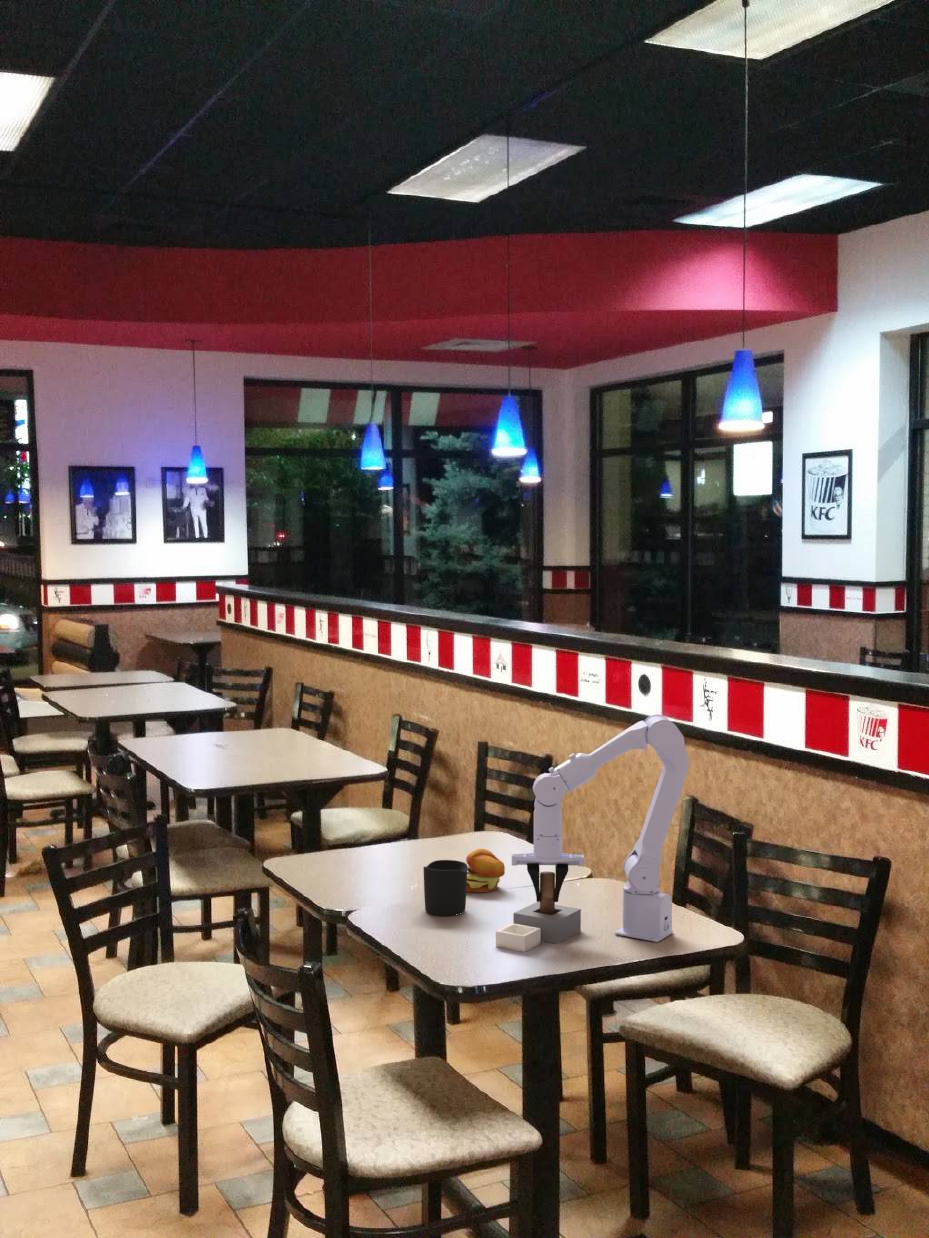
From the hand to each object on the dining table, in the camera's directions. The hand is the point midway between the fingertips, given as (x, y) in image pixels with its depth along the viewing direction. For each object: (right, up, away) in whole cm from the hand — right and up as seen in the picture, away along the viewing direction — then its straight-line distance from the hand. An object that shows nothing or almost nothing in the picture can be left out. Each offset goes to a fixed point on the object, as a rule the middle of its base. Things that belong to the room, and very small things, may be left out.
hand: (547, 900), depth 247 cm
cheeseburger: (-13, -5, +35) cm, 37 cm away
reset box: (0, -7, 0) cm, 7 cm away
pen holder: (-21, -6, +16) cm, 27 cm away
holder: (-6, -7, -8) cm, 12 cm away
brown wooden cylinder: (0, -3, 0) cm, 3 cm away
